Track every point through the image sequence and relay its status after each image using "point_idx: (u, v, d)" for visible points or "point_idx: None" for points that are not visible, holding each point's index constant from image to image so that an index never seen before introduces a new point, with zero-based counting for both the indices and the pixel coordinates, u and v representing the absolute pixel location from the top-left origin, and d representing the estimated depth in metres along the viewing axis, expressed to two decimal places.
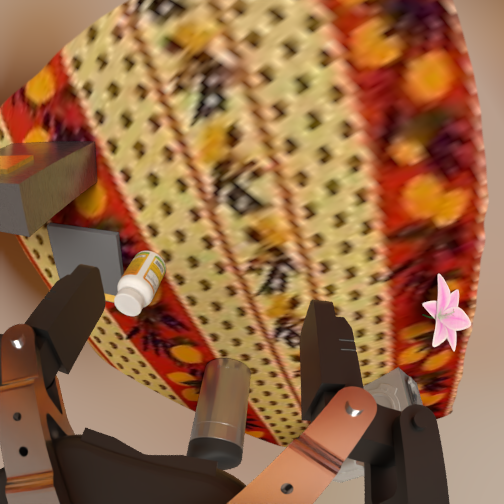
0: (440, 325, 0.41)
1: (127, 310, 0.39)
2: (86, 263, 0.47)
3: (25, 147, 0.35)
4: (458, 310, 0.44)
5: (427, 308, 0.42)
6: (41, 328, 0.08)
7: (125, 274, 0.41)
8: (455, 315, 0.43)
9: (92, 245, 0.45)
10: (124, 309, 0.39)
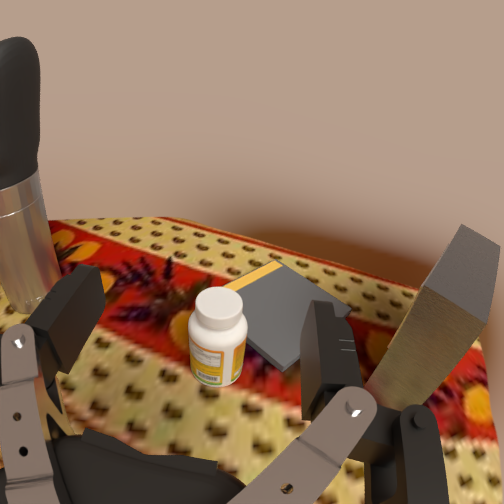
0: None
1: (213, 295, 0.27)
2: (281, 308, 0.39)
3: None
4: None
5: None
6: (41, 328, 0.08)
7: (246, 337, 0.28)
8: None
9: (294, 332, 0.36)
10: (218, 293, 0.27)
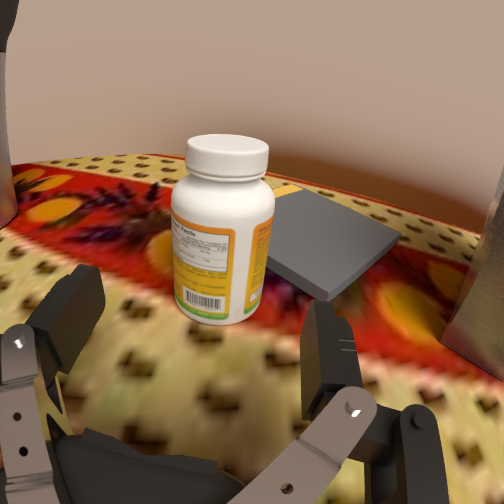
0: None
1: (217, 137, 0.15)
2: (310, 226, 0.27)
3: None
4: None
5: None
6: (41, 328, 0.08)
7: (272, 217, 0.16)
8: None
9: (335, 252, 0.24)
10: (226, 137, 0.15)
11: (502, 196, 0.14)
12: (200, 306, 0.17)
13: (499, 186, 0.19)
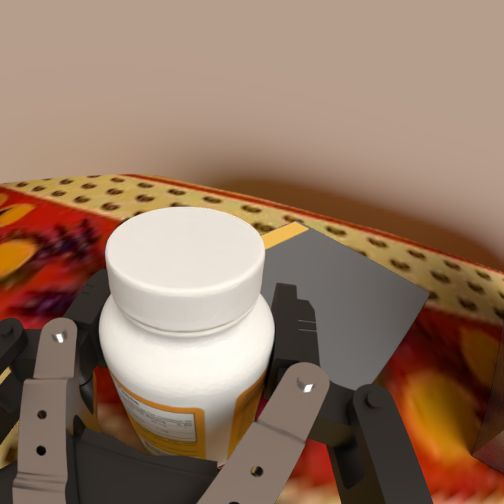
0: None
1: (168, 223, 0.08)
2: (320, 295, 0.20)
3: None
4: None
5: None
6: (83, 321, 0.08)
7: None
8: None
9: (353, 339, 0.17)
10: (184, 221, 0.08)
11: None
12: None
13: None
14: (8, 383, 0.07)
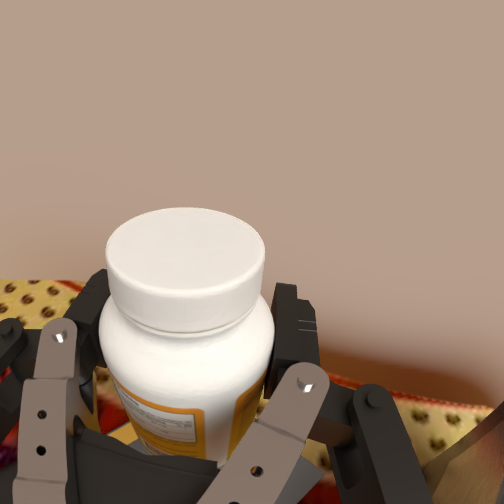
0: None
1: (167, 224, 0.08)
2: None
3: None
4: None
5: None
6: (83, 321, 0.08)
7: (270, 359, 0.09)
8: None
9: None
10: (184, 221, 0.08)
11: None
12: None
13: (454, 500, 0.10)
14: (8, 383, 0.07)
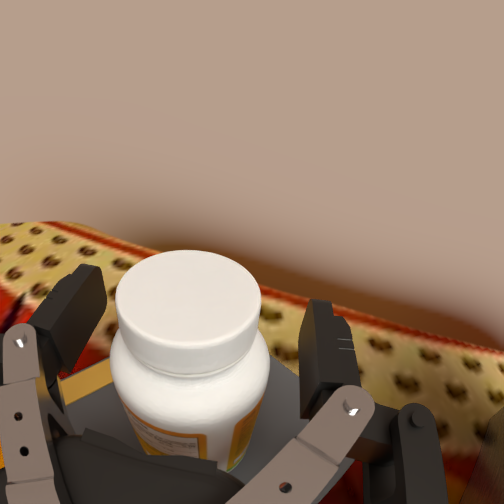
0: None
1: (171, 270, 0.09)
2: None
3: None
4: None
5: None
6: (43, 327, 0.08)
7: None
8: None
9: None
10: (187, 267, 0.09)
11: None
12: None
13: None
14: None
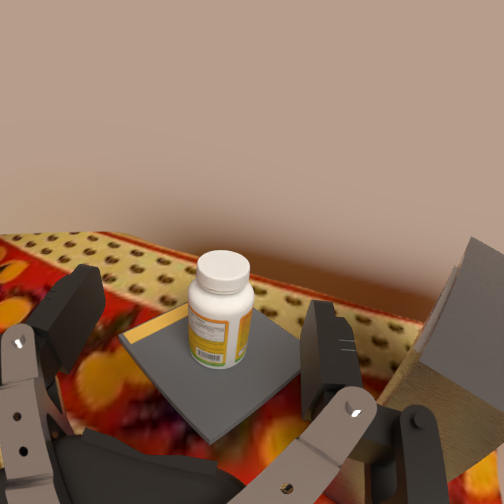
0: None
1: (216, 257, 0.24)
2: None
3: None
4: None
5: None
6: (41, 328, 0.08)
7: (252, 307, 0.25)
8: None
9: (232, 390, 0.25)
10: (222, 256, 0.25)
11: (383, 394, 0.15)
12: (207, 359, 0.26)
13: None
14: None
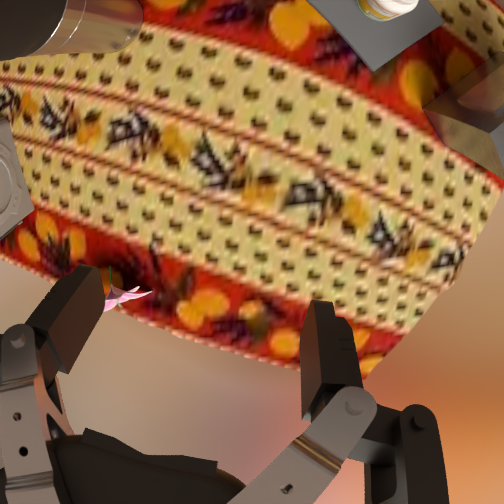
0: (113, 298, 0.47)
1: None
2: None
3: None
4: (113, 305, 0.52)
5: None
6: (41, 328, 0.08)
7: None
8: (111, 303, 0.51)
9: (387, 37, 0.29)
10: None
11: (474, 105, 0.24)
12: (374, 17, 0.26)
13: None
14: None
